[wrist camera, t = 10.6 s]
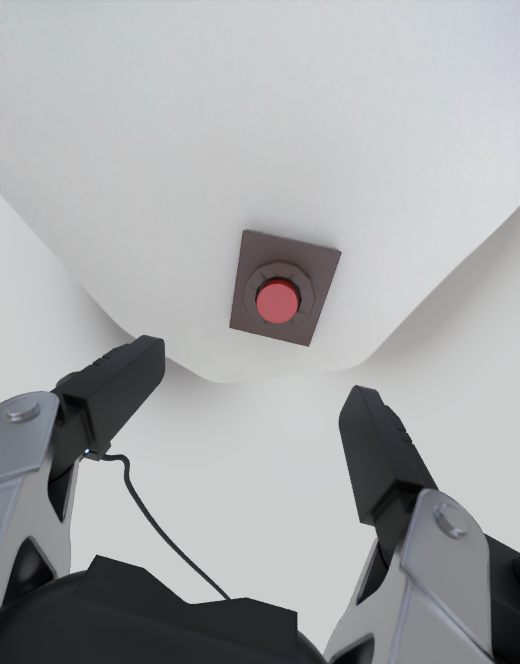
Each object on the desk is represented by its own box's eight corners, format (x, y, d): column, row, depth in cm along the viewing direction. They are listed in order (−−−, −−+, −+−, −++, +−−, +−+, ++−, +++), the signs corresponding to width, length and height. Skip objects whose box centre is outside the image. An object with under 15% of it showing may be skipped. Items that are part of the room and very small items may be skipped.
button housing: (307, 337, 26) (309, 355, 22) (234, 320, 26) (224, 335, 22) (337, 249, 21) (346, 254, 18) (247, 229, 21) (238, 230, 18)
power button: (292, 320, 21) (291, 327, 20) (256, 311, 21) (253, 318, 20) (302, 284, 19) (303, 289, 18) (263, 275, 20) (260, 279, 18)
